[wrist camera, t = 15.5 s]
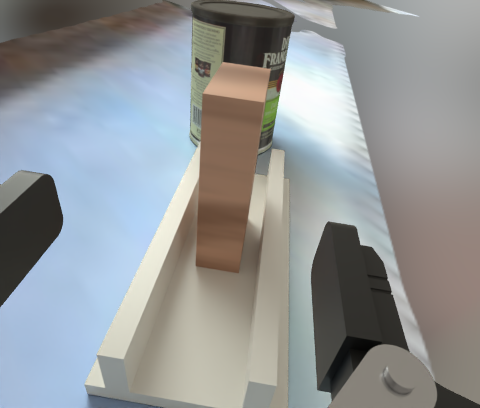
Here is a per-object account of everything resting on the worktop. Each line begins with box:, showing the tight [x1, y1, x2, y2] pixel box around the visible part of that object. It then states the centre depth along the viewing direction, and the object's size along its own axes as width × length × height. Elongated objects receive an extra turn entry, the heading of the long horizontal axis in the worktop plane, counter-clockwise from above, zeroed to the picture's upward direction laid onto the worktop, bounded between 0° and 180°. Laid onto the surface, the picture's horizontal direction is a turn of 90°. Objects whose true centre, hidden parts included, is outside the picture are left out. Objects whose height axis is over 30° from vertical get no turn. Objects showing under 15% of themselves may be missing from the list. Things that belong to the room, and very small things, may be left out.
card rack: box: [84, 141, 290, 408], centre depth 25 cm, size 22×10×4 cm, turn 173°
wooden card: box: [196, 62, 271, 273], centre depth 23 cm, size 6×3×12 cm, turn 173°
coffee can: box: [189, 0, 295, 154], centre depth 39 cm, size 10×10×14 cm
